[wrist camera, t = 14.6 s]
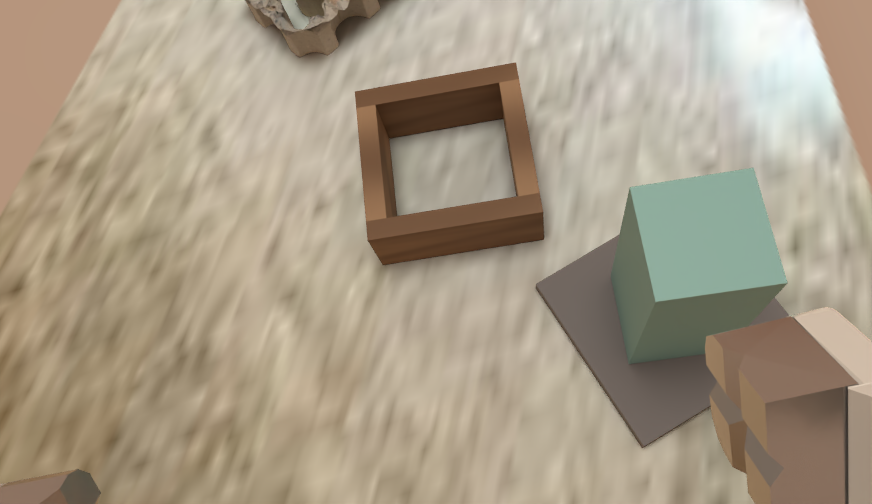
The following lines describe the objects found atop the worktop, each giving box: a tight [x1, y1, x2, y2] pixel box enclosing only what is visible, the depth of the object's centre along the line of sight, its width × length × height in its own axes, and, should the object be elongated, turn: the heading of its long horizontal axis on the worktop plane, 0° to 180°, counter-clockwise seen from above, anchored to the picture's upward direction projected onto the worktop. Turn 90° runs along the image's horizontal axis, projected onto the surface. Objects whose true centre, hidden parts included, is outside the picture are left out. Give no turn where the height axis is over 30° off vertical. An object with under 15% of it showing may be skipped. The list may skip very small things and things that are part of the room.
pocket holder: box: [355, 63, 544, 265], centre depth 39 cm, size 8×8×4 cm
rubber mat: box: [536, 235, 789, 448], centre depth 36 cm, size 9×9×1 cm
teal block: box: [611, 168, 787, 364], centre depth 31 cm, size 4×4×10 cm
